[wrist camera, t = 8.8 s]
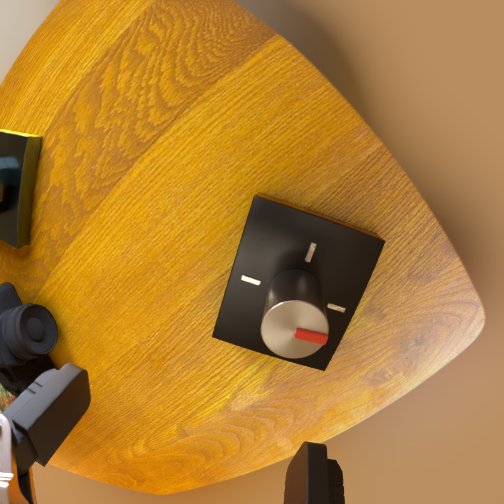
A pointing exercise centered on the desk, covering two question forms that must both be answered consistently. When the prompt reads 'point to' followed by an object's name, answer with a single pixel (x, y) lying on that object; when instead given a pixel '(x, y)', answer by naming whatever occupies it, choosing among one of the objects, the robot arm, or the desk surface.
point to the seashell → (5, 398)
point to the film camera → (23, 341)
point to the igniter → (17, 185)
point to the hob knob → (294, 315)
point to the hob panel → (295, 257)
